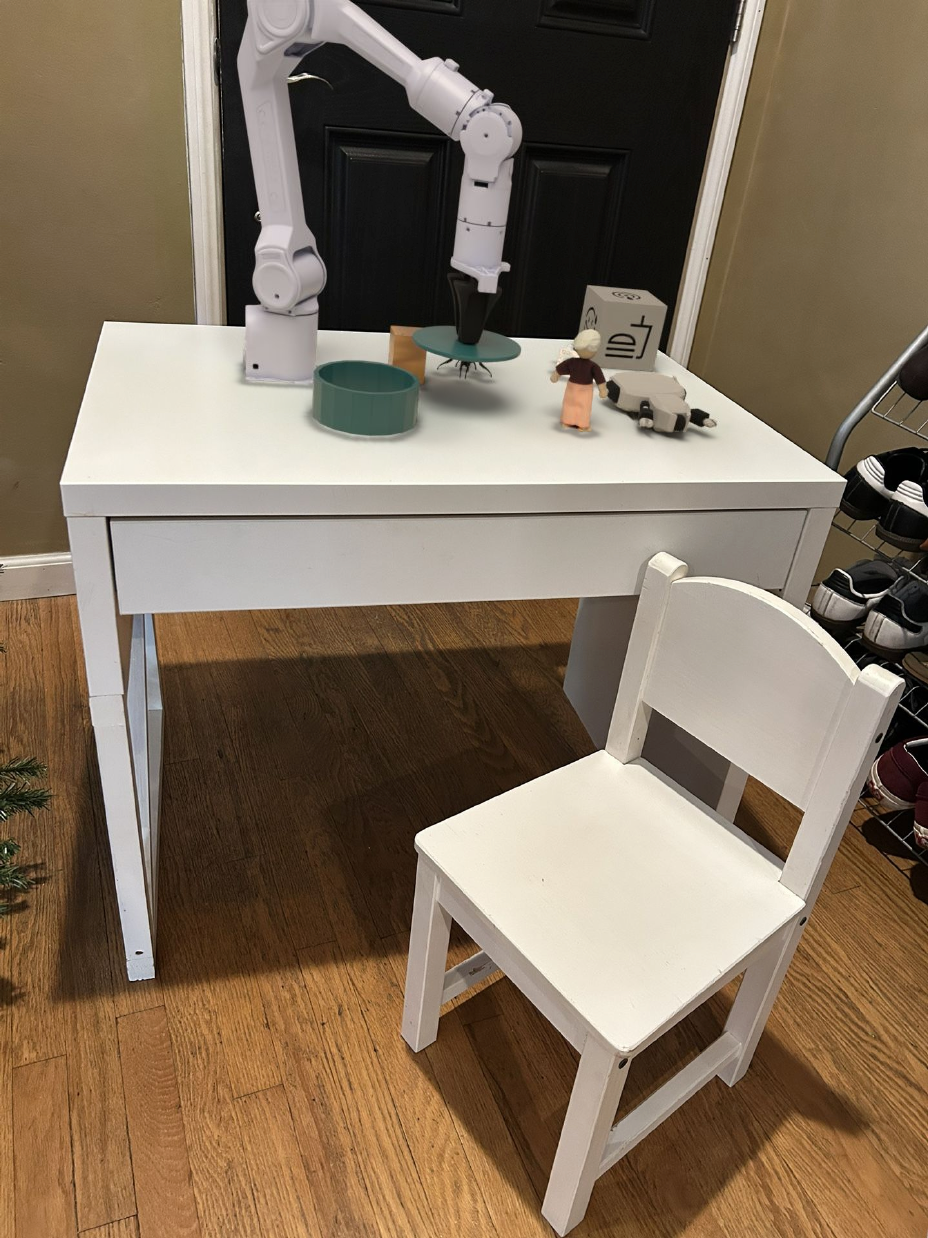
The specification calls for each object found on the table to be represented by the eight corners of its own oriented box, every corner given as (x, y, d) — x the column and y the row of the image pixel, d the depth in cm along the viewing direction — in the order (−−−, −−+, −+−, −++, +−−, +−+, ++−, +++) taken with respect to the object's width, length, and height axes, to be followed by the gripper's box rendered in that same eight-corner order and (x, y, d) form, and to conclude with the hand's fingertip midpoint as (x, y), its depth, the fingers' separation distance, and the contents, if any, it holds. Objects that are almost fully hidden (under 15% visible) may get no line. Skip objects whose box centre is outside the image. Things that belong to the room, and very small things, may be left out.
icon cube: (652, 371, 148) (667, 306, 143) (592, 366, 146) (604, 300, 141) (633, 352, 157) (646, 290, 151) (575, 347, 155) (587, 285, 149)
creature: (489, 393, 132) (494, 365, 138) (493, 358, 129) (498, 331, 134) (433, 385, 132) (441, 357, 138) (436, 350, 129) (444, 323, 134)
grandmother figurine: (603, 431, 121) (623, 332, 115) (597, 440, 118) (617, 338, 111) (545, 418, 123) (562, 319, 116) (538, 427, 120) (555, 326, 113)
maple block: (390, 387, 126) (394, 334, 123) (386, 376, 130) (390, 325, 126) (423, 388, 127) (428, 336, 124) (418, 378, 131) (423, 327, 127)
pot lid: (420, 363, 110) (424, 319, 108) (404, 330, 122) (408, 290, 119) (531, 370, 113) (538, 327, 111) (506, 338, 125) (511, 298, 122)
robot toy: (717, 446, 124) (665, 399, 135) (727, 414, 121) (674, 368, 133) (634, 446, 120) (588, 397, 131) (643, 413, 117) (595, 366, 129)
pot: (315, 437, 107) (317, 390, 105) (309, 400, 118) (311, 356, 115) (422, 442, 110) (427, 396, 107) (407, 405, 121) (411, 363, 118)
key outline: (541, 357, 147) (543, 346, 147) (572, 359, 149) (574, 348, 148) (564, 384, 137) (566, 372, 136) (597, 386, 138) (599, 374, 137)
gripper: (530, 237, 105) (512, 358, 112) (501, 213, 117) (486, 324, 124) (468, 230, 103) (453, 354, 110) (445, 208, 115) (433, 320, 122)
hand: (467, 338), depth 117 cm, fingers closed on pot lid, 2 cm apart
